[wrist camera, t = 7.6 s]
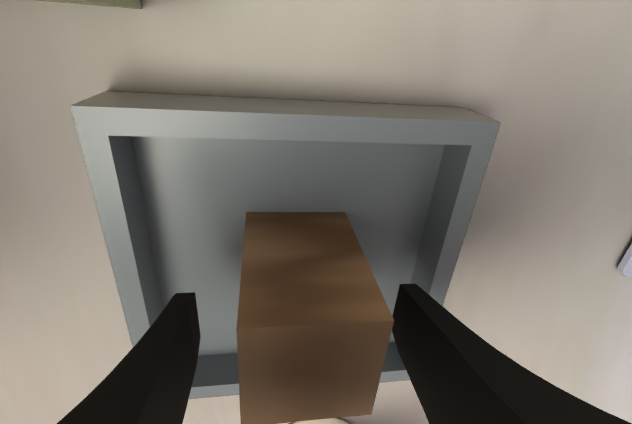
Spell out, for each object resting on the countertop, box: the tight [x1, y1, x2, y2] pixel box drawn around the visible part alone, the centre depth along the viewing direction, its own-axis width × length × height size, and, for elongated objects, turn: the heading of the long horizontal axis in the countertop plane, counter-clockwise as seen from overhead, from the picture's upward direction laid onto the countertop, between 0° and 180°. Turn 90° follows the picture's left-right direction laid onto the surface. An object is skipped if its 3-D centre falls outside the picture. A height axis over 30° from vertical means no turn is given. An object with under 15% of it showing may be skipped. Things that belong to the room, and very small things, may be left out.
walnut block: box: [236, 212, 394, 424], centre depth 12 cm, size 4×4×6 cm
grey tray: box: [70, 91, 501, 399], centre depth 14 cm, size 13×13×2 cm
